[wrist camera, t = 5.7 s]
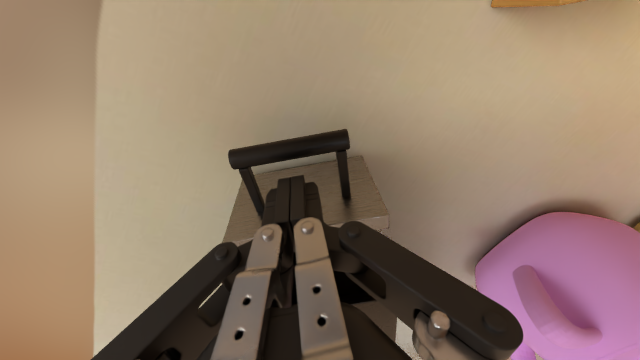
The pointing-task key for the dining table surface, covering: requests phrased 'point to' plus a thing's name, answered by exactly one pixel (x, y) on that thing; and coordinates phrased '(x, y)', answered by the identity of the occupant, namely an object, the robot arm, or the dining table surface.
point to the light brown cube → (531, 3)
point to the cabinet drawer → (331, 178)
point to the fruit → (637, 227)
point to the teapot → (569, 287)
